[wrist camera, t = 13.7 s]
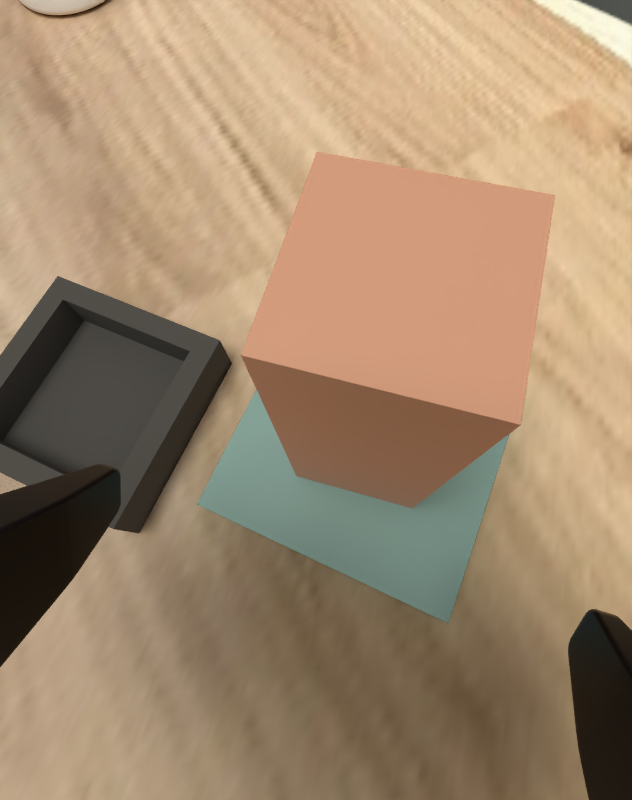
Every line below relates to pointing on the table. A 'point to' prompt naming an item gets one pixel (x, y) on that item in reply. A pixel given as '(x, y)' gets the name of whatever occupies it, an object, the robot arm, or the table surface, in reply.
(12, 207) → the table surface
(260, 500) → the pad
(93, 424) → the tray
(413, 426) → the block
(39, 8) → the jar
